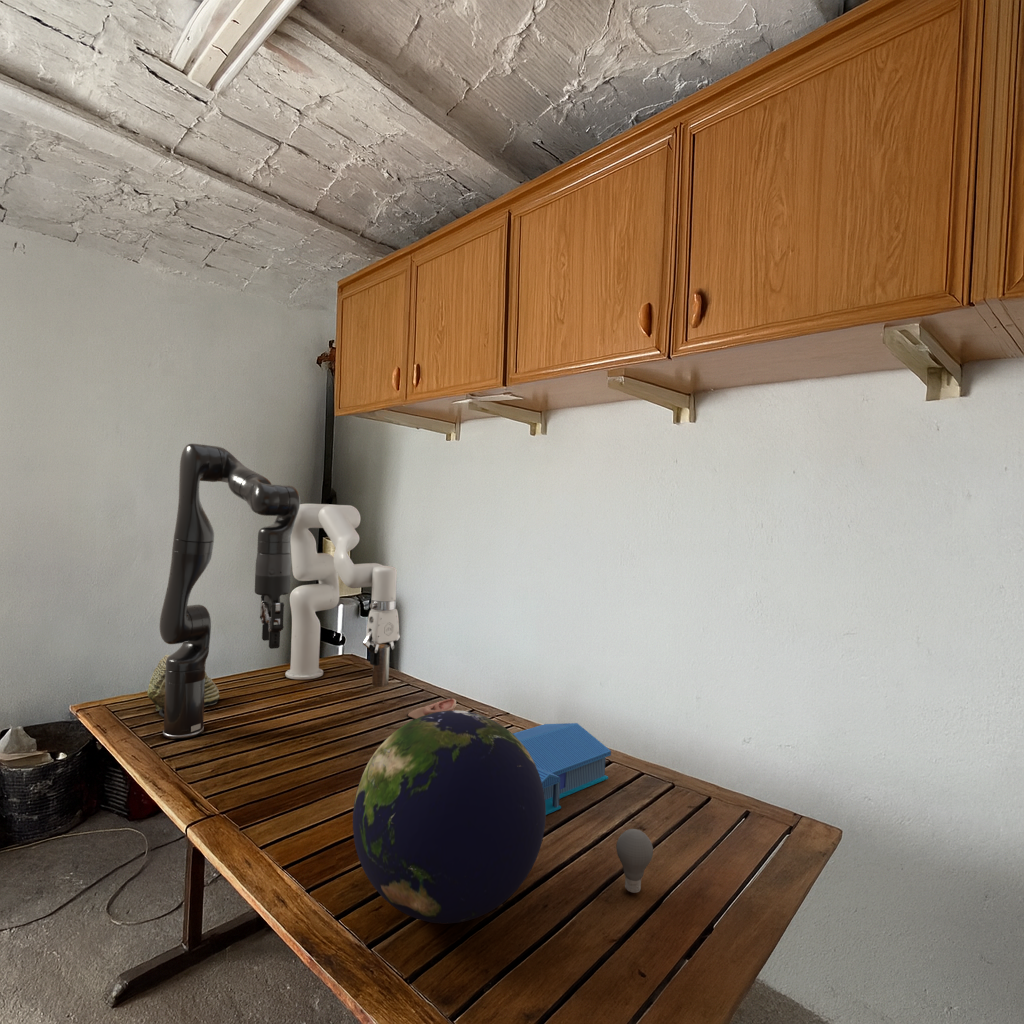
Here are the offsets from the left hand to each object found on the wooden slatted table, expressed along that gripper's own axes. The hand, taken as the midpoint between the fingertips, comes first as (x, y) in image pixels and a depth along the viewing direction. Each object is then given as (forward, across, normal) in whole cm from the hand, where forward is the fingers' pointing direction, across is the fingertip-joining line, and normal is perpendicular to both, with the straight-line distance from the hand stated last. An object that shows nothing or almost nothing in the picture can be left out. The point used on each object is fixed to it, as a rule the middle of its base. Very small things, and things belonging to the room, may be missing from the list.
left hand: (270, 644), depth 144 cm
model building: (+29, -32, -49) cm, 65 cm away
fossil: (+29, +56, +13) cm, 64 cm away
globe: (+29, -62, -17) cm, 70 cm away
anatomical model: (+29, +20, -50) cm, 61 cm away
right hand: (+18, +40, -41) cm, 60 cm away
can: (+25, +40, -41) cm, 62 cm away
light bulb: (+29, -72, -46) cm, 90 cm away
